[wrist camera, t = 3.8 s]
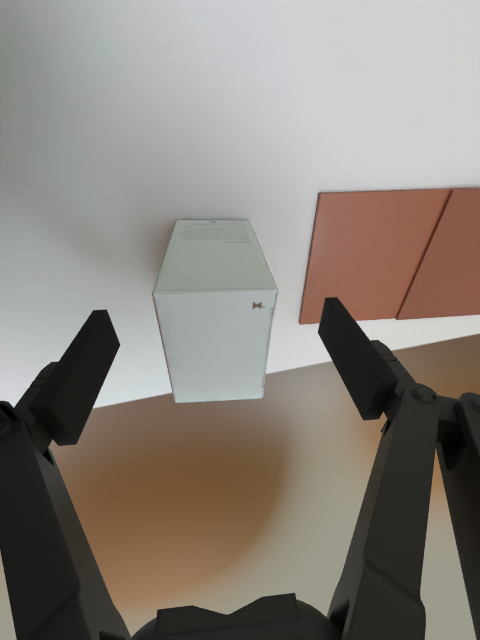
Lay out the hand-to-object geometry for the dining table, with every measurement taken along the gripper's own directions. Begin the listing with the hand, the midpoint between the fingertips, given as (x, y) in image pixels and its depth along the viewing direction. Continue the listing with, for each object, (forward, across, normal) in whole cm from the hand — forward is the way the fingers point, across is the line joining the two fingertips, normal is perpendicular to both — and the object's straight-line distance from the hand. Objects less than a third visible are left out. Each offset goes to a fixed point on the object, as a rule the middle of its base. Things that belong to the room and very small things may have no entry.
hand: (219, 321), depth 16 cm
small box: (+7, 0, 0) cm, 7 cm away
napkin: (+7, +18, 0) cm, 19 cm away
